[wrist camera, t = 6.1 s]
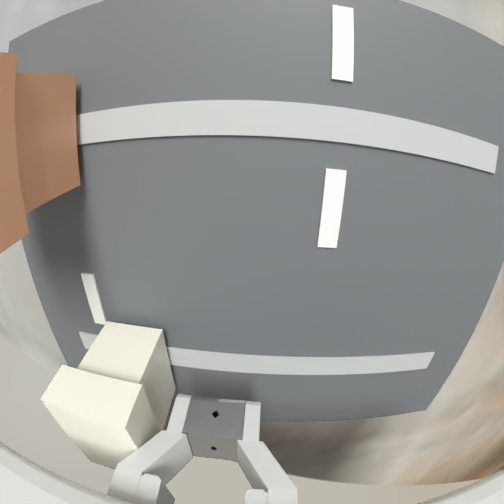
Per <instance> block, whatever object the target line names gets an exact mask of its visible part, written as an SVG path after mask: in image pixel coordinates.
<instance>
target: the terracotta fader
mask: <svg viewBox="0 0 504 504" xmlns="http://www.w3.org/2000/svg"><path fill="white" fill-rule="evenodd" d="M17 54H18V53H0V253H2V252H3V251H5V250H6V249H7V248H9V247H10V246H11V245H13V244H14V243H16V242H17V241H19V240H20V239H22V238H23V237H24V236H26V235H27V234H29V229H28V224H27V219H26V213H28V212H30V211H31V210H33V209H35V208H37V207H39V206H40V205H42V204H44V203H46V202H48V201H50V200H52V199H54V198H56V197H58V196H59V195H61V194H63V193H65V192H67V191H69V190H71V189H74V188H76V187H78V186H80V185H81V184H80V175H79V164H78V152H77V135H76V75H64V74H49V73H16V65H17Z"/></svg>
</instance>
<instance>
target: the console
mask: <svg viewBox="0 0 504 504" xmlns="http://www.w3.org/2000/svg"><path fill="white" fill-rule="evenodd" d="M8 53H18V54H17V65H16V73H49V74H64V75H76V135H77V152H78V164H79V175H80V184H81V185H80V186H78V187H76V188H74V189H71V190H69V191H67V192H65V193H63V194H61V195H59V196H58V197H56V198H54V199H52V200H50V201H48V202H46V203H44V204H42V205H40V206H39V207H37V208H35V209H33V210H31V211H30V212H28V213H26V219H27V224H28V229H29V234H27V235H26V236H24V237H23V238H22V242H23V246H24V250H25V254H26V257H27V261H28V264H29V268H30V271H31V274H32V278H33V281H34V284H35V287H36V290H37V293H38V295H39V298H40V301H41V304H42V306H43V309H44V312H45V314H46V317H47V319H48V322H49V324H50V327H51V329H52V331H53V334H54V336H55V338H56V341H57V343H58V345H59V347H60V349H61V352H62V354H63V356H64V358H65V360H66V362H67V364H68V366H69V367H72V368H76V369H77V368H78V366H79V364H80V363H81V361H82V360H83V358H84V356H85V355H86V353H87V352H88V350H89V349H90V347H91V345H92V344H93V342H94V341H95V339H96V338H97V336H98V335H99V333H100V332H101V330H102V329H103V327H104V326H105V324H106V323H107V321H109V322H115V323H121V324H128V325H135V326H141V327H149V328H156V329H163V334H164V339H165V344H166V349H167V353H168V358H169V362H170V367H171V371H172V375H173V380H174V384H175V388H176V389H175V392H174V396H173V399H172V402H171V405H170V409H169V410H170V411H172V409H173V406H174V402H175V399H176V397H177V395H178V394H185V395H192V396H198V397H206V398H214V399H229V400H246V401H259V402H261V412H260V421H335V420H351V419H363V418H374V417H383V416H391V415H398V414H405V413H411V412H417V411H423V410H426V409H427V408H428V406H429V405H430V403H431V402H432V401H433V399H434V398H435V396H436V395H437V393H438V392H439V390H440V389H441V387H442V386H443V384H444V383H445V381H446V379H447V378H448V376H449V375H450V373H451V371H452V370H453V368H454V366H455V365H456V363H457V361H458V360H459V358H460V356H461V354H462V352H463V351H464V349H465V347H466V345H467V343H468V341H469V340H470V338H471V336H472V334H473V332H474V330H475V328H476V326H477V324H478V322H479V319H480V317H481V315H482V313H483V311H484V309H485V306H486V304H487V302H488V300H489V297H490V295H491V292H492V290H493V287H494V285H495V282H496V280H497V277H498V274H499V272H500V269H501V266H502V263H503V260H504V47H503V46H502V45H500V44H498V43H497V42H495V41H493V40H491V39H489V38H488V37H486V36H484V35H482V34H480V33H478V32H476V31H474V30H472V29H470V28H468V27H466V26H464V25H462V24H460V23H458V22H455V21H453V20H451V19H449V18H446V17H444V16H441V15H439V14H436V13H434V12H431V11H429V10H426V9H423V8H421V7H418V6H415V5H412V4H409V3H406V2H403V1H399V0H105V1H102V2H99V3H96V4H93V5H90V6H87V7H84V8H81V9H79V10H76V11H73V12H71V13H68V14H66V15H63V16H61V17H59V18H56V19H54V20H52V21H49V22H47V23H45V24H43V25H41V26H39V27H37V28H34V29H32V30H30V31H28V32H27V33H25V34H23V35H21V36H19V37H17V38H15V39H13V40H12V41H10V44H9V52H8Z"/></svg>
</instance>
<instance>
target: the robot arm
mask: <svg viewBox="0 0 504 504" xmlns="http://www.w3.org/2000/svg"><path fill="white" fill-rule="evenodd" d="M260 412H261V402H259V401H246V400H229V399H214V398H206V397H198V396H192V395H185V394H178V395H177V397H176V399H175V402H174V406H173V409H172V412H171V416H170V419H169V423H168V426H167V430H162V431H160V432H159V433H158V434H156V435H155V436H154V437H153V438H151V439H150V440H149V441H148V442H146V443H145V444H144V445H142V446H141V447H140V448H138V449H137V450H136V451H134V452H133V453H132V454H130V455H129V456H128V457H126V458H125V459H124V460H122V461H121V462H120V463H118V464H117V467H116V469H115V472H114V475H113V478H112V481H111V484H110V487H109V490H108V493H107V495H106V494H103V493H101V492H98V491H95V490H92V489H90V488H87V487H85V486H83V485H80V484H78V483H75V482H73V481H71V480H69V479H67V478H64V477H62V476H60V475H58V474H56V473H54V472H52V471H50V470H47V469H46V468H44V467H42V466H40V465H38V464H36V463H35V462H33V461H31V460H29V459H27V458H26V457H24V456H22V455H21V454H19V453H17V452H16V451H14V450H12V449H11V448H9V447H8V446H6V445H4V444H3V443H1V442H0V504H174V501H175V499H174V497H173V496H172V494H171V493H170V492H169V490H168V489H167V488H166V486H165V485H166V484H167V483H168V482H169V481H170V480H171V479H172V478H173V477H174V476H175V475H176V474H177V473H178V472H179V471H180V470H181V469H182V468H183V467H184V466H185V465H186V464H187V463H188V462H189V461H190V460H191V459H192V458H193V456H199V457H207V458H217V459H225V460H233V461H238V463H239V465H240V467H241V469H242V470H243V472H244V474H245V476H246V477H247V479H248V481H249V482H250V484H251V486H252V487H253V489H249V490H247V491H246V492H245V501H244V504H298V489H297V487H296V486H295V485H294V483H293V482H292V481H291V479H290V478H289V477H288V475H287V474H286V473H285V471H284V470H283V469H282V467H281V466H280V464H279V463H278V462H277V460H276V459H275V458H274V456H273V455H272V453H271V452H270V450H269V449H268V448H267V446H266V445H265V443H264V442H263V441H259V432H260ZM418 504H504V469H503V470H500V471H498V472H496V473H494V474H492V475H490V476H488V477H486V478H484V479H482V480H479V481H477V482H475V483H473V484H471V485H468V486H466V487H463V488H461V489H458V490H456V491H453V492H451V493H448V494H445V495H443V496H440V497H437V498H434V499H431V500H428V501H425V502H421V503H418Z"/></svg>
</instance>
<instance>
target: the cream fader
mask: <svg viewBox="0 0 504 504" xmlns="http://www.w3.org/2000/svg"><path fill="white" fill-rule="evenodd" d="M175 389H176V388H175V384H174V380H173V375H172V371H171V367H170V362H169V358H168V353H167V349H166V344H165V339H164V334H163V329H156V328H149V327H141V326H135V325H128V324H121V323H115V322H109V321H107V323H106V324H105V326H104V327H103V329H102V330H101V332H100V333H99V335H98V336H97V338H96V339H95V341H94V342H93V344H92V345H91V347H90V349H89V350H88V352H87V353H86V355H85V356H84V358H83V360H82V361H81V363H80V364H79V366H78V368H77V369H76V368H72V367H69V366H66V365H63V364H62V366H61V367H60V369H59V370H58V372H57V374H56V375H55V377H54V378H53V380H52V381H51V383H50V385H49V386H48V388H47V390H46V391H45V393H44V394H43V396H42V398H41V400H42V401H43V403H44V404H45V406H46V407H47V409H48V410H49V411H50V413H51V414H52V415H53V417H54V418H55V419H56V421H57V422H58V423H59V425H60V426H61V427H62V428H63V430H64V431H65V432H66V433H67V435H68V436H69V437H70V438H71V439H72V441H73V442H74V443H75V444H76V445H77V446H78V448H79V449H80V450H81V451H82V452H83V453H84V454H85V455H86V456H87V457H88V459H89V460H90V461H92V462H94V463H97V464H100V465H103V466H106V467H109V468H112V469H116V467H117V464H118V463H120V462H121V461H122V460H124V459H125V458H126V457H128V456H129V455H130V454H132V453H133V452H134V451H136V450H137V449H138V448H140V447H141V446H142V445H144V444H145V443H146V442H148V441H149V440H150V439H151V438H153V437H154V436H155V435H156V434H158V433H159V432H160V431H162V430H163V429H164V425H165V422H166V419H167V415H168V412H169V409H170V405H171V402H172V399H173V396H174V392H175Z"/></svg>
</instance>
